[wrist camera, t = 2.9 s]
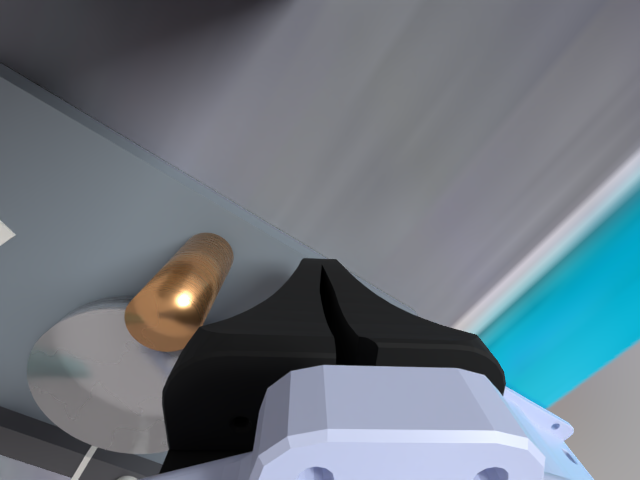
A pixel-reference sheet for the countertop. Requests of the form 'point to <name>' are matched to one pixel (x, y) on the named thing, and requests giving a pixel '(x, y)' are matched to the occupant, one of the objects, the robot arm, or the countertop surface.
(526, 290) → the countertop surface
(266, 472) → the robot arm
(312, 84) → the countertop surface
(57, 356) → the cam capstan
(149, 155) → the gray mechanism base plate
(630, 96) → the countertop surface
